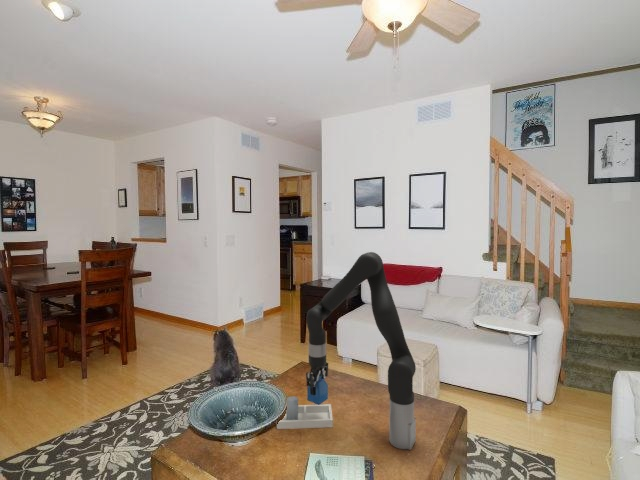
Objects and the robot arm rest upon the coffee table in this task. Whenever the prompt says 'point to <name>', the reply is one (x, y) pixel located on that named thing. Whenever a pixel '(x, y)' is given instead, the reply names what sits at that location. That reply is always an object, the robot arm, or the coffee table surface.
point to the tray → (309, 417)
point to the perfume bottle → (318, 391)
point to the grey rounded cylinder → (292, 408)
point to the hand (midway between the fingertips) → (317, 391)
